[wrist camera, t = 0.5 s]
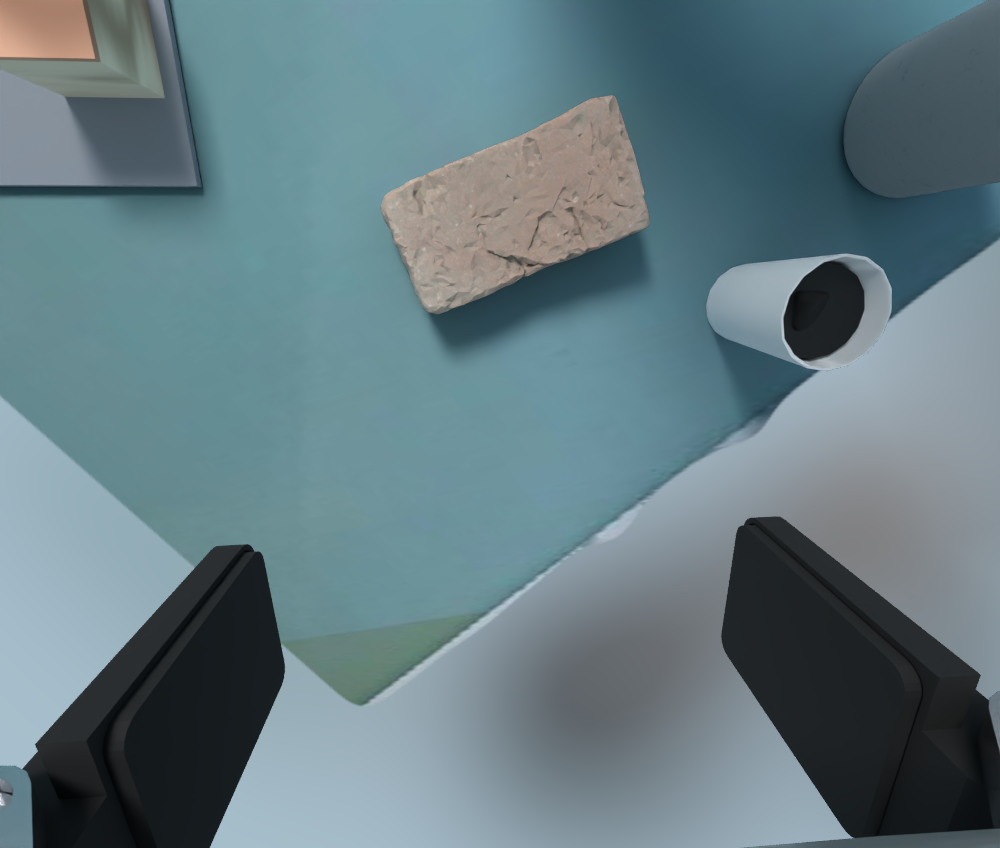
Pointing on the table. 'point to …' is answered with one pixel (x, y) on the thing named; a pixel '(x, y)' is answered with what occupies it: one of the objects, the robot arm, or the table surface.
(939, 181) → the water bottle
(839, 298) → the white cup
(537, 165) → the brick
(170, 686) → the robot arm
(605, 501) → the table surface
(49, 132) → the mat
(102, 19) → the cube
